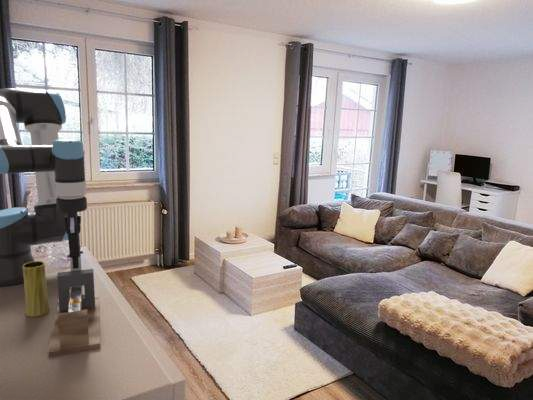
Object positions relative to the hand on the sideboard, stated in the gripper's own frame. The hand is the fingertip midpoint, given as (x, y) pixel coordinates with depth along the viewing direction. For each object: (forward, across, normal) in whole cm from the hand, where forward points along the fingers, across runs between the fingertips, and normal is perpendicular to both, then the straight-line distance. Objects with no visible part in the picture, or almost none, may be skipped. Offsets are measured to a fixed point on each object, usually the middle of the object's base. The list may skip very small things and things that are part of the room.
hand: (76, 277), depth 113 cm
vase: (+10, -1, -11) cm, 14 cm away
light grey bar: (+4, +10, 0) cm, 11 cm away
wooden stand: (+9, +10, 0) cm, 14 cm away
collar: (+7, +3, 0) cm, 8 cm away
